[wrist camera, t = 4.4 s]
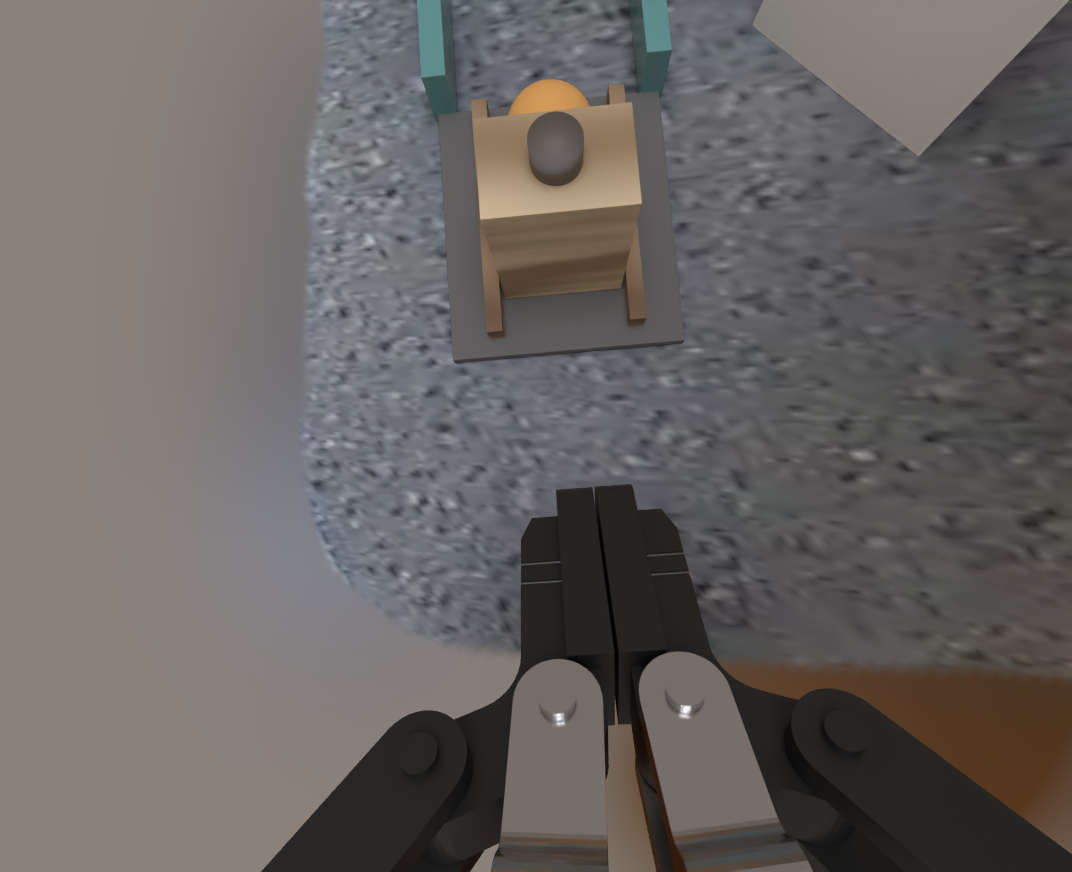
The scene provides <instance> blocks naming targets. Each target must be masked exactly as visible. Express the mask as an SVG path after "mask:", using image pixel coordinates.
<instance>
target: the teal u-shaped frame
mask: <svg viewBox="0 0 1072 872" xmlns="http://www.w3.org/2000/svg"><path fill="white" fill-rule="evenodd" d="M629 7H630V17H631V27H632V38H633V48H634V58H635V68H636V78H637V88H638V93H642V92H651V91H659V98H661V94H662V90H663V86H664V81H665V77H666V73H667V68H668V64H669V60H670V55H671V51H672V48H671V38H670V29H669V19H668V10H667V1H666V0H629ZM417 12H418V29H419V46H420V63H421V78H422V81H423V84H424V86H425V89H426V92H427V95H428V98H429V101H430V103H431V106H432V109H433V112H434V115H435V117H436V120H437V122H438V121H439V120H438V114H446V113H455V112H458V108H457V92H456V77H455V62H454V46H453V31H452V16H451V0H417Z"/></svg>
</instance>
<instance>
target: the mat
mask: <svg viewBox="0 0 1072 872" xmlns="http://www.w3.org/2000/svg"><path fill="white" fill-rule="evenodd" d="M586 100H587V101H588V103H589V105H590V107H591V106H601V105H607V96H604V97H594V98H586ZM625 101H626V103H629V102H632V108H633V118H634V128H635V138H636V149H637V159H638V169H639V179H640V190H641V200H642V205H641V209H640V213H639V217H638V221H637V226H638V236H639V247H640V257H641V267H642V278H643V288H644V298H645V309H646V320H645V322H644V324H643V325H635V326H628V323H627V312H626V301H625V290H624V280H623V281H622V285H621V289H610V290H599V291H588V292H577V293H566V294H555V295H544V296H533V297H522V298H511V299H506V298H505V294H504V291H503V288H502V301H503V315H504V329H505V337H500V338H489V336H488V334H487V329H486V315H485V300H484V285H483V270H482V256H481V241H480V226H479V211H478V197H477V182H476V167H475V152H474V138H473V123H472V111H464V112H455V113H446V114H438V120H439V137H440V153H441V169H442V185H443V202H444V218H445V234H446V250H447V267H448V283H449V299H450V315H451V332H452V348H453V361H454V362H455V363H459V362H470V361H482V360H493V359H505V358H516V357H528V356H539V355H551V354H562V353H574V352H585V351H597V350H608V349H620V348H631V347H643V346H654V345H666V344H678V343H683V341H684V332H683V323H682V313H681V303H680V293H679V284H678V274H677V264H676V255H675V245H674V235H673V225H672V216H671V206H670V196H669V186H668V177H667V167H666V157H665V148H664V138H663V128H662V118H661V109H660V99H659V91H651V92H642V93H632V94H625ZM510 109H511V107H501V108H492V109H488V110H489V117H498V116H507V115H508V114H509V111H510ZM501 287H502V285H501Z"/></svg>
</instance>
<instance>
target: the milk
mask: <svg viewBox="0 0 1072 872" xmlns="http://www.w3.org/2000/svg"><path fill="white" fill-rule="evenodd" d="M1068 1H1069V0H763V2H762V4H761V6H760V9H759V11H758V13H757V15H756V17H755V20H754V22H753V24H752V26H753V27H754V28H755V29H757V30H758V31H759V32H761V33H762V34H763V35H764V36H766V37H767V38H768V39H769V40H771V41H772V42H773V43H774V44H776V45H777V46H778V47H780V48H781V49H782V50H783V51H785V52H786V53H787V54H788V55H790V56H791V57H792V58H794V59H795V60H796V61H797V62H799V63H800V64H801V65H802V66H804V67H805V68H806V69H807V70H809V71H810V72H811V73H813V74H814V75H815V76H816V77H818V78H819V79H820V80H821V81H823V82H824V83H825V84H827V85H828V86H829V87H830V88H832V89H833V90H834V91H835V92H837V93H838V94H839V95H841V96H842V97H843V98H844V99H846V100H847V101H848V102H849V103H851V104H852V105H853V106H854V107H856V108H857V109H858V110H860V111H861V112H862V113H863V114H865V115H866V116H867V117H868V118H870V119H871V120H872V121H874V122H875V123H876V124H877V125H879V126H880V127H881V128H882V129H884V130H885V131H886V132H888V133H889V134H890V135H891V136H893V137H894V138H895V139H896V140H898V141H899V142H900V143H901V144H903V145H904V146H905V147H907V148H908V149H909V150H910V151H912V152H913V153H914V154H915V155H917V156H918V157H919V156H920V155H921V154H922V153H923V152H924V151H925V150H926V149H927V147H928V146H929V145H930V144H931V143H932V142H933V141H934V140H935V139H936V138H937V137H938V136H939V135H940V134H941V133H942V132H943V131H944V130H945V129H946V128H947V127H948V126H949V125H950V124H951V123H952V122H953V120H954V119H955V118H956V117H957V116H958V115H959V114H960V113H961V112H962V111H963V110H964V109H965V108H966V107H967V106H968V105H969V104H970V103H971V102H972V101H973V100H974V99H975V98H976V97H977V96H978V95H979V94H980V92H981V91H982V90H983V89H984V88H985V87H986V86H987V85H988V84H989V83H990V82H991V81H992V80H993V79H994V78H995V77H996V76H997V75H998V74H999V73H1000V72H1001V71H1002V70H1003V69H1004V68H1005V67H1006V66H1007V64H1008V63H1009V62H1010V61H1011V60H1012V59H1013V58H1014V57H1015V56H1016V55H1017V54H1018V53H1019V52H1020V51H1021V50H1022V49H1023V48H1024V47H1025V46H1026V45H1027V44H1028V43H1029V42H1030V41H1031V40H1032V39H1033V37H1034V36H1035V35H1036V34H1037V33H1038V32H1039V31H1040V30H1041V29H1042V28H1043V27H1044V26H1045V25H1046V24H1047V23H1048V22H1049V21H1050V20H1051V19H1052V18H1053V17H1054V16H1055V15H1056V14H1057V13H1058V12H1059V11H1060V9H1061V8H1062V7H1063V6H1064V5H1065V4H1066V3H1067V2H1068Z"/></svg>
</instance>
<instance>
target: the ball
mask: <svg viewBox="0 0 1072 872" xmlns="http://www.w3.org/2000/svg"><path fill="white" fill-rule="evenodd" d="M582 107H590V105H589V103H588V101H587V100H586V98H585V97H584V95H583V94H582V93H581V92H580V91H579V90H578V89H577V88H575V87H574V86H573V85H571V84H569V83H567V82H564V81H561V80H556V79H545V80H541V81H538V82H535V83H533V84H531V85H530V86H528V87H526V88H525V89H524V90H523V91H522V92H521V93H520V94H519V95H518V96H517V98H516V99H515V101H514V102H513V104H512V106H511V109H510V111H509V114H508V115H516V114H526V113H535V112H545V111H554V110H563V109H573V108H582Z"/></svg>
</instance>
